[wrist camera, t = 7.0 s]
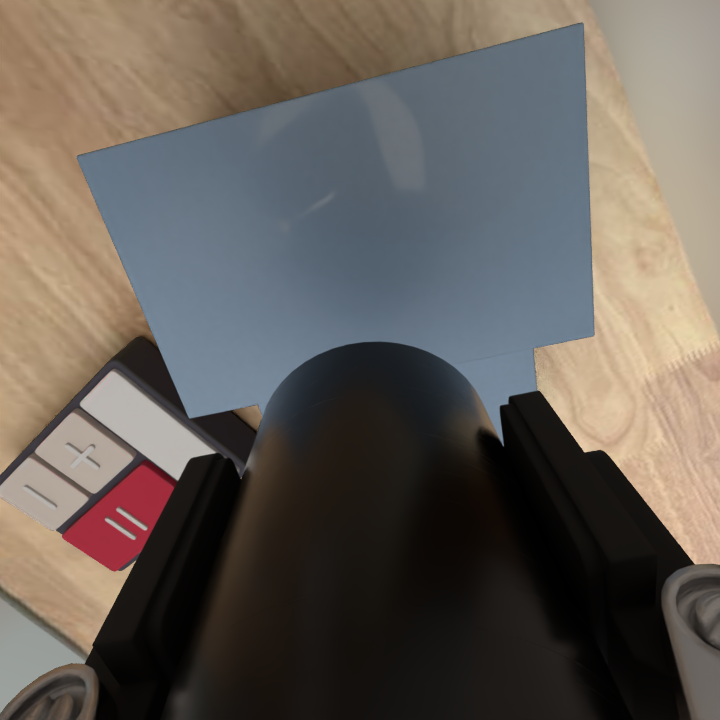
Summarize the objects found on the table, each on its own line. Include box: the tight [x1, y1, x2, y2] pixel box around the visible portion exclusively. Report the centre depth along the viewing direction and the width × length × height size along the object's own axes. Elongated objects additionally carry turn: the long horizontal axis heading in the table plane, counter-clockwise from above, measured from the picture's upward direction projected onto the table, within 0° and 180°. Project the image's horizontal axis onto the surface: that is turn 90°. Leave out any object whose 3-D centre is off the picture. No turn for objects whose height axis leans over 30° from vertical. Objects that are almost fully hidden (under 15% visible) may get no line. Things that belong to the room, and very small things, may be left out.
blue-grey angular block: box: [77, 23, 595, 446], centre depth 25 cm, size 22×16×13 cm
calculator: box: [0, 337, 256, 571], centre depth 34 cm, size 11×4×15 cm
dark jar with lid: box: [160, 341, 633, 720], centre depth 7 cm, size 6×6×9 cm
